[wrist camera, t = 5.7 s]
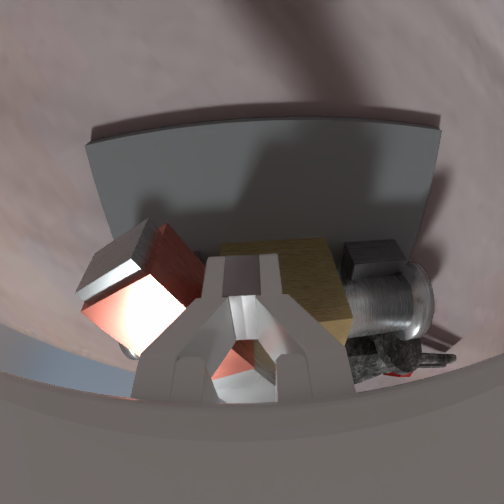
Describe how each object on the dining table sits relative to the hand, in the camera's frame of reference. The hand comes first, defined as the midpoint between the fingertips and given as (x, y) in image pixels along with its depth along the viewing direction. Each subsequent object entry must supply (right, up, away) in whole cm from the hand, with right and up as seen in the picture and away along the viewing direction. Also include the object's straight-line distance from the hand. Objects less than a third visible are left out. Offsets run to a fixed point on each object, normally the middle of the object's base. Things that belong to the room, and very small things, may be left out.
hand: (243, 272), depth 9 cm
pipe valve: (+2, -1, +14) cm, 14 cm away
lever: (0, -3, +4) cm, 5 cm away
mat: (+2, +1, +13) cm, 13 cm away
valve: (+15, -11, +22) cm, 29 cm away
